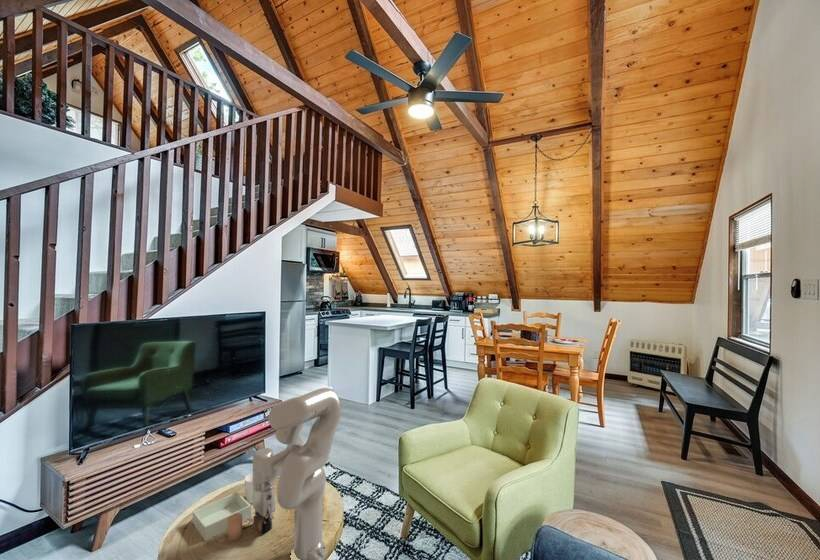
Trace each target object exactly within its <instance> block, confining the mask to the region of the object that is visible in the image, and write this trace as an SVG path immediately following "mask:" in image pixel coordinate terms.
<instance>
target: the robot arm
mask: <svg viewBox="0 0 820 560" xmlns="http://www.w3.org/2000/svg"><path fill="white" fill-rule="evenodd" d="M341 404H342V403H341V400H340V397H339V395H338V393H337V392H336V391H335V390H334V389H331V388H330V387H325V388H318V389H316V390H312V391H310V392H308V393H305V394H303V395H300V396H295V397H292V398H288V399H287V400H283V401H281V402H278V403H276V404H275V405H273V406H272V407H271V408H270V410H269V413H268V423H269V426H270V427H271V428H272V429H273V430H276V431H275V438H276V440H277V441H278V442H279V443H280V444H283V445H286V447H285V449H284V450H282V451H280V452H277V453H276V454H274V451H273V449H272V448H269V447H262V448H260V449H257V450H256V451H255V452H254V453H253V454H252V473H253V499H252V500H253V504H252V507H253V509H254V516H255V515H257V514H260V515H261V516H262V517H263V523H262V533H263V534H266V533H267V532H270V530H272V529H271V520H272V521H273V520H274V519H275V518H274V513H275V512H276V498H277V503H278V504H279V506H280V507H281V508H282V509H283V510H286V511H291V510H293V509H294V544H293V545H294V546H292V548H291V550H292V549H294V553H295V555H296V557H297V558H298V559H300V560H325V559H326V558H327V544H326V543H325V542H324V541H323V506H324V505H323V502H324V494H325V493H324V492H325V487H326V484H327V483H326V482H327V481H326V480H327V477H326V475H327V474H326V472H325V471H326V470H325V469H324V468H323V467H324V466H325V465H326V464H327V462H328V460H329V456H330V452H331V449H332V445H333V442H334V439H335V435H336V432H337V429H338V426H339V423H340V420H341V418H342V417H341V416H342V405H341ZM314 419H315V421H314V422H313V424H312V426H311V428H310V431H309V433H308V437H307V440H306V442H305V443H304V444H303V441H302V437H301V436H300V435H301V433H302V429H303V426H304V424H305V423H307V422H310V421H312V420H314ZM277 478H278V483H277V487H276V495H275V490H274V480H275V479H277ZM275 496H276V497H275ZM267 515H268V518H266V519H265V516H267ZM263 534H262V535H263ZM322 541H323V542H322Z"/></svg>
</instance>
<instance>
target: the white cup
mask: <svg viewBox="0 0 820 560" xmlns="http://www.w3.org/2000/svg"><path fill="white" fill-rule="evenodd" d="M244 486H245V487H244V490H245V500H246V501H247V502H248V503H249V504H250V505H253V500H252V499H253V472H251V473H248V474H247V475H246V476H245V477H244Z"/></svg>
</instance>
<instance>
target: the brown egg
mask: <svg viewBox="0 0 820 560" xmlns="http://www.w3.org/2000/svg"><path fill="white" fill-rule="evenodd" d="M242 536H243V522H242V514H240V513H236V514H233V515H231V516H229V518H228V529H227V540H228V541H231V542H233V541H237V540H239V539H241V538H242Z"/></svg>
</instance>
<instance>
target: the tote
mask: <svg viewBox="0 0 820 560" xmlns="http://www.w3.org/2000/svg"><path fill="white" fill-rule="evenodd" d="M236 513H240V514H242V523H244V522H245V521H247V520H249V519H251V518H252V504H249V503H248V502H247V501H246V498H244V497H243V496H242V495H241V494H240V493H239V491H236V492H233V493H231V494H229V495H227V496H225V497H222V498H219V499H217V500H215V501H213V502H211V503H207V504H206V505H204V506H202V507H199V508H197V509H194V510H193V511H192V525H193V524H194V525H193V526H194V527H195V529H196V531H198V533H199V535H200V536H201V537H202V539H203V541H204V542H205V541H208V540H209V539H211V538H214V537H215V536H217V535H219V534H221V533H223V532H225V531H228V518H229V516H231V515H233V514H236Z"/></svg>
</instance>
